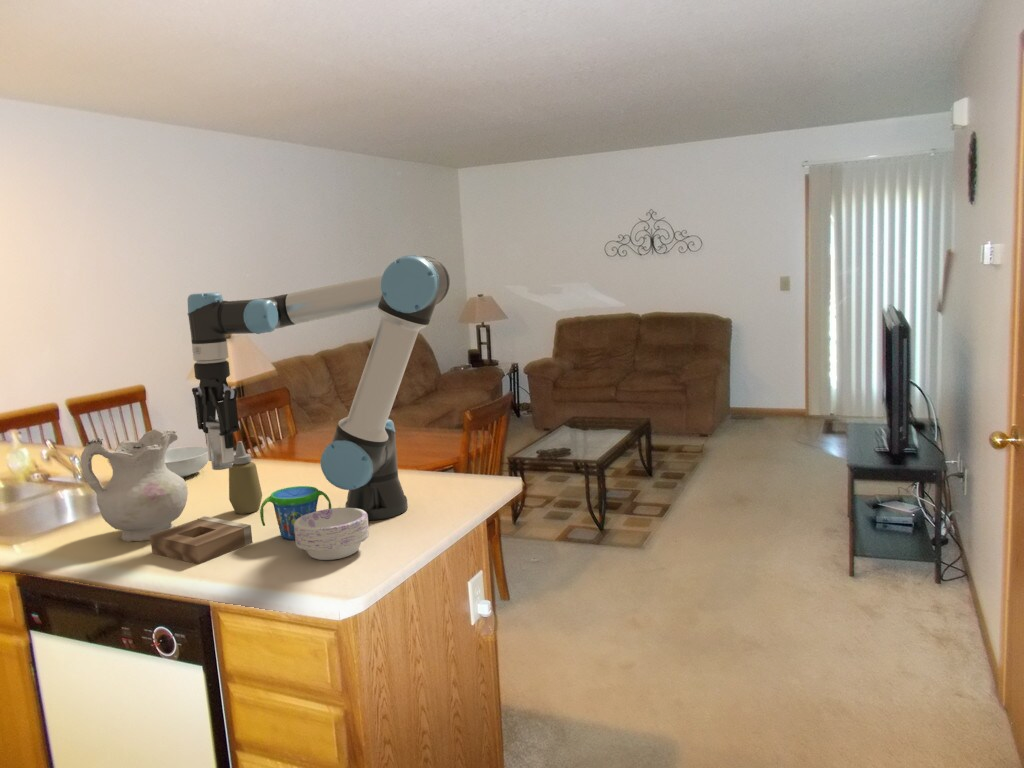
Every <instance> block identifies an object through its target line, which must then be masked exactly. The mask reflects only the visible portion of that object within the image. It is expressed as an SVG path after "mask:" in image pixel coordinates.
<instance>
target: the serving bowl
mask: <svg viewBox="0 0 1024 768" xmlns="http://www.w3.org/2000/svg"><path fill="white" fill-rule="evenodd" d="M208 462H209V458H208V449H207V447H206V446H196V445H195V446H193V445H192V446H179V447H172V448H171V447H170V448H167V450H166V454H165V464H166V467H167V468H168V469H169V470H170V471H171V472H173V473H175V474H177V475H178V476H180V477H181V478H183V479H184V478H186V477H189V476H192V475H193V474H195V473H198V472H199V471H201V470H203V469H204V468H205V466H207V464H208Z"/></svg>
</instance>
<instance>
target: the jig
mask: <svg viewBox="0 0 1024 768" xmlns="http://www.w3.org/2000/svg"><path fill="white" fill-rule="evenodd" d="M149 541H150V546H151V554H154V555H155V554H156V555H159V556H163V557H168V558H170V559H175V560H179V561H184V562H188V563H192V564H197V565H200V564H203V563H206V562H208V561H210V560H213V559H215V558H217V557H220V556H223V555H225V554H228V553H230V552H233V551H235V550H238V549H240V548H243V547H245V546H248V545H250V544H253V534H252V525H251V524H247V523H242V522H238V521H237V522H236V521H232V520H226V519H221V518H215V517H210V516H205V515H204V516H201V517H198V518H196V519H194V520H191V521H187V522H185V523H182V524H180V525H177V526H176V527H173V528H170V529H168V530H165V531H162V532H159V533H156V534H153V535H150V540H149Z"/></svg>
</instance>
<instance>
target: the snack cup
mask: <svg viewBox="0 0 1024 768" xmlns="http://www.w3.org/2000/svg"><path fill="white" fill-rule="evenodd" d="M320 496H323V497H324V498H325V499H326V500H327V502H328V509H332V508H333V507H332V502H331V499H330V498H329V496H328V495H327V493H326V492H324V491H322V490H319V488H317V487H314V486H310V485H309V486H307V485H305V486H304V485H302V486H301V485H300V486H299V485H298V486H297V485H295V486H290V487H284V488H281V489H278V490H275V491H273V492H272V493H271V494H270V496H267V497H266V498H265V499H264V500H263V501H262V502H261V503H262V504H260V508H259V510H260V511H259V516H260V521H261V524H262V526H263V527H265V526H266V523H265V520H264V507H265V505H267V504H268V503H269V502H270V503H272V504H273V508H274V512H275V518H276V521H277V526H278V528H279V529H278V530H279V532H280V537H282V538H284V539H286V540H290V541H291V540H295V530H294V522H295V521H296V520H297V519H298V518H300V517H301V516H303V515H306V514H309V513H312V512H316V511H317V507H318V502H319V497H320Z"/></svg>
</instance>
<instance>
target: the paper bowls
mask: <svg viewBox="0 0 1024 768" xmlns="http://www.w3.org/2000/svg"><path fill="white" fill-rule="evenodd" d="M331 508H332V509H329V508H328V509H327V508H326V509H325V508H324V509H320V510H316V512H312V513H309V514H306V515H303V516H301V517H300V518H298V519H297V520H296V521H295V522H294V530H295V539H294V540H295V541H294V542H295V545H296V547H297V548H299V549H300V550H304V551H306V553H307V554H308V556H309V557H311V558H313V559H315V560H320V561H332V560H333V561H334V560H340V559H343V558H347V557H350V556H352V555H353V554H355V553H356V552H357V551H358V550H359V548H360V546H361V543H363V542H364V541H366V540H367V539H368V538H369V537H370V528H369V527H370V526H369V520H368V515H367V513H366V512H365V511H364V510H361V509H357V508H345V507H331Z"/></svg>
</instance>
